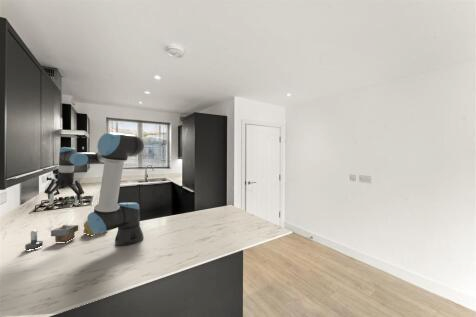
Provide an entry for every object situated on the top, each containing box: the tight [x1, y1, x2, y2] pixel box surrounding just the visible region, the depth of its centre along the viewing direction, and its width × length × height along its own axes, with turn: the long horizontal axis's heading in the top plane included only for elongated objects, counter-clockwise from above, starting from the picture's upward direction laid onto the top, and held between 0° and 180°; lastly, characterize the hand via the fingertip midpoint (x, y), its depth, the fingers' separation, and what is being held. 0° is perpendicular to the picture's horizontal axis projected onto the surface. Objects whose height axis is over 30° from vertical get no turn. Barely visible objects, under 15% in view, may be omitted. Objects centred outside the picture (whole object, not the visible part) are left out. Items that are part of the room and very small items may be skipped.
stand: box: [54, 224, 76, 243], centre depth 121 cm, size 6×6×10 cm
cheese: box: [83, 220, 96, 235], centre depth 135 cm, size 10×11×10 cm
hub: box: [24, 230, 44, 250], centre depth 112 cm, size 7×7×10 cm
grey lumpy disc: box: [50, 224, 79, 237], centre depth 121 cm, size 9×9×4 cm
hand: (64, 204), depth 124 cm, fingers open, 13 cm apart
